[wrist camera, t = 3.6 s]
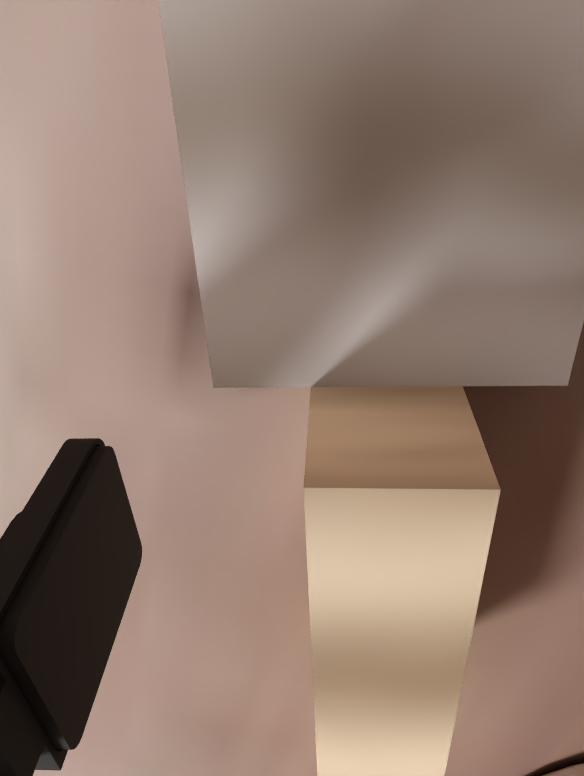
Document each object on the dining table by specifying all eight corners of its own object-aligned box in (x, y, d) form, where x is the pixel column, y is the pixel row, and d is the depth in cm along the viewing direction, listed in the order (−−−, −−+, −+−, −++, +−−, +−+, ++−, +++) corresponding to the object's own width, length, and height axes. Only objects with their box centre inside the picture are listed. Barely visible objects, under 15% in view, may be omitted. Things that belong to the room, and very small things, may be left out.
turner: (486, 648, 17) (523, 800, 14) (257, 641, 18) (239, 785, 14) (667, -160, 8) (941, -327, 4) (158, -120, 8) (31, -234, 5)
